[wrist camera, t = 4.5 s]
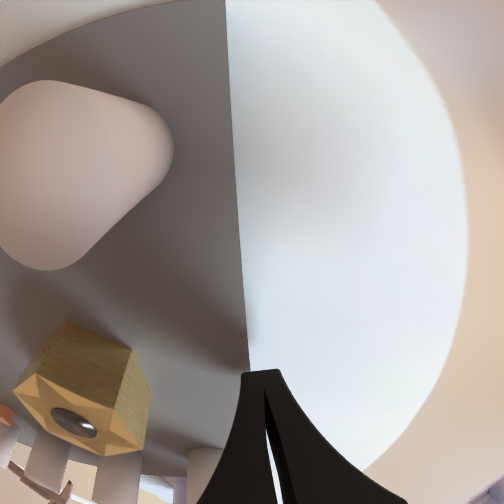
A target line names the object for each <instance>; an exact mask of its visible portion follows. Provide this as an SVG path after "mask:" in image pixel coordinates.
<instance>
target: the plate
mask: <svg viewBox="0 0 504 504" xmlns="http://www.w3.org/2000/svg"><path fill="white" fill-rule="evenodd" d="M67 320H68V321H70V322H72V323H74V324H76V325H78V326H80V327H82V328H84V329H87V330H89V331H91V332H93V333H95V334H97V335H100V336H102V337H104V338H106V339H109V340H111V341H113V342H116V343H118V344H121V345H123V346H125V347H128V348H130V349H132V350H133V352H134V355H135V357H136V360H137V362H138V364H139V366H140V369H141V371H142V373H143V375H144V378H145V380H146V382H147V384H148V386H149V388H150V390H151V392H152V399H151V404H150V410H149V415H148V421H147V427H146V434H145V440H144V447H143V450H138V451H133V452H128V453H122V454H116V455H110V456H102V455H99V454H97V453H94V452H91V451H89V450H86V449H84V448H82V447H79V446H77V445H74V444H72V443H70V442H68V441H66V440H63V439H61V438H59V437H57V436H55V435H53V434H51V433H49V432H47V431H46V430H45V429H44V428H43V427H42V425H41V424H40V423H39V422H38V421H37V420H36V419H35V418H34V417H33V415H32V414H31V413H30V412H29V411H28V410H27V408H26V407H25V406H24V405H23V404H22V402H21V401H20V400H19V399H18V397H17V396H16V395H15V393H14V392H13V389H14V387H15V385H16V383H17V382H18V380H19V378H20V376H21V374H22V373H23V371H24V369H25V368H26V366H27V364H28V362H29V361H30V359H31V357H32V356H33V354H34V353H35V351H36V349H37V348H38V346H39V345H40V344H41V343H42V342H43V341H44V340H45V339H46V338H47V337H49V336H50V335H51V334H52V333H53V332H54V331H55V330H57V329H58V328H59V327H60V326H61V325H62V324H63V323H65V322H66V321H67ZM243 372H250V361H249V350H248V338H247V326H246V314H245V302H244V290H243V277H242V264H241V251H240V237H239V224H238V210H237V196H236V181H235V166H234V151H233V135H232V119H231V103H230V85H229V67H228V48H227V28H226V6H225V0H183V1H176V2H170V3H164V4H159V5H154V6H149V7H145V8H141V9H136V10H132V11H129V12H125V13H121V14H118V15H114V16H111V17H108V18H105V19H102V20H99V21H96V22H93V23H90V24H87V25H85V26H82V27H79V28H77V29H74V30H72V31H69V32H67V33H65V34H62V35H60V36H58V37H56V38H53V39H51V40H49V41H47V42H45V43H43V44H41V45H39V46H37V47H35V48H33V49H31V50H29V51H28V52H26V53H24V54H22V55H20V56H19V57H17V58H15V59H14V60H12V61H10V62H9V63H7V64H5V65H4V66H2V67H1V68H0V404H3V405H5V406H8V407H10V409H11V410H12V411H13V412H14V413H15V414H16V416H15V418H14V420H13V422H12V425H11V426H10V425H7V424H5V423H2V422H0V467H2V468H4V469H7V467H8V464H9V461H10V458H11V455H12V452H13V450H14V447H15V444H16V442H19V443H22V444H25V445H27V446H29V447H32V450H31V453H30V456H29V459H28V462H27V465H26V468H25V471H24V475H25V476H26V477H28V478H29V479H30V480H32V481H33V482H35V483H37V484H39V485H40V486H42V487H44V488H46V489H49V490H51V491H53V492H57V493H60V489H61V484H62V480H63V476H64V472H65V468H66V464H67V461H68V459H69V460H72V461H76V462H80V463H84V464H88V465H93V466H97V467H98V469H97V473H96V478H95V484H94V489H93V495H92V500H93V501H94V502H96V503H98V504H137V500H138V490H139V481H140V474H147V475H157V476H170V477H187V504H196V503H197V501H198V500H199V498H200V497H201V495H202V493H203V492H204V490H205V488H206V486H207V485H208V483H209V481H210V479H211V477H212V475H213V473H214V471H215V469H216V467H217V465H218V462H219V460H220V458H221V455H222V453H223V450H224V448H225V445H226V443H227V440H228V437H229V434H230V431H231V428H232V424H233V421H234V417H235V413H236V409H237V405H238V399H239V394H240V385H241V374H242V373H243Z"/></svg>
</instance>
